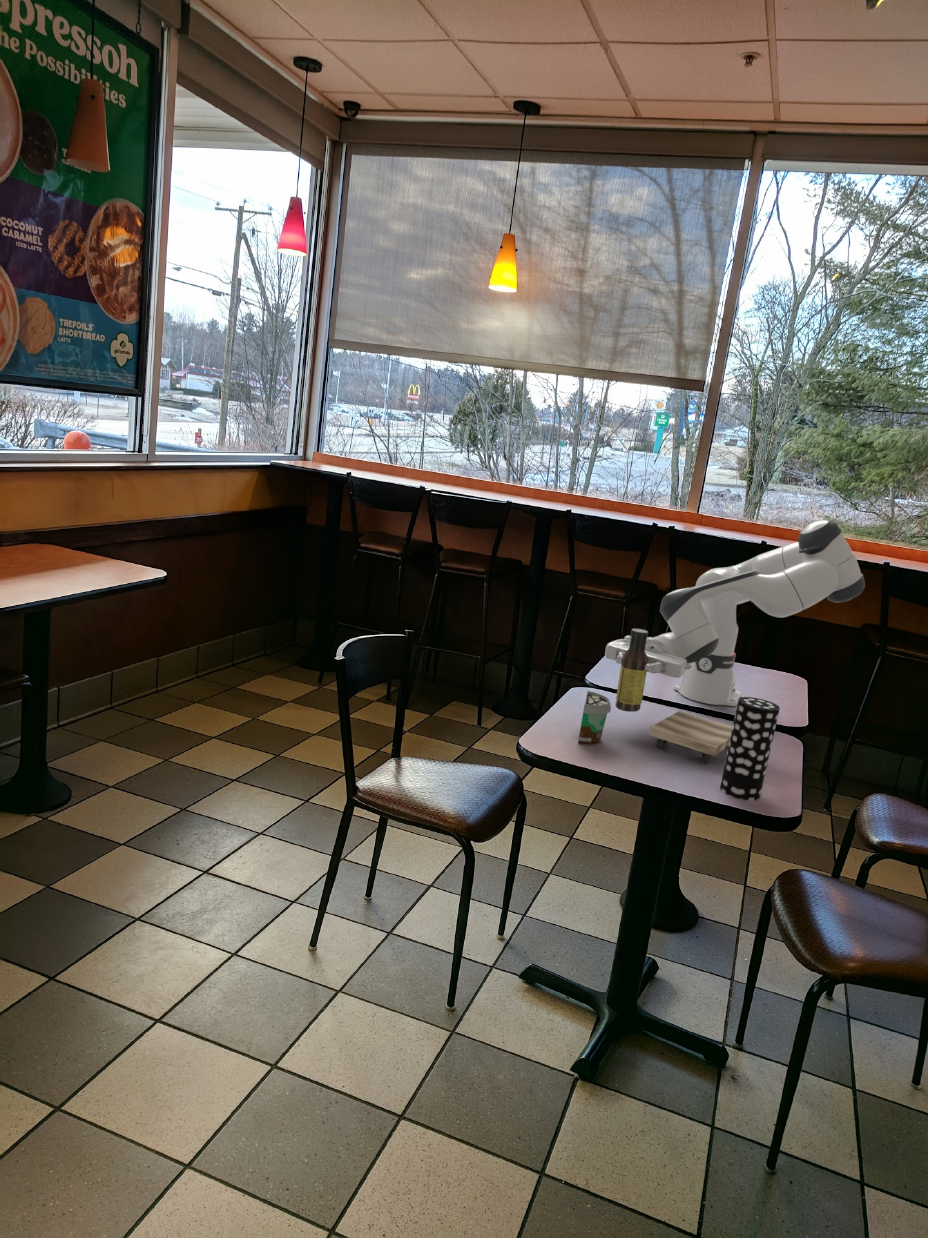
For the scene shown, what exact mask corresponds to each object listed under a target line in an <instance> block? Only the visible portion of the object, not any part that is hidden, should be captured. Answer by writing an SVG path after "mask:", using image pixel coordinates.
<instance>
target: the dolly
mask: <svg viewBox="0 0 928 1238" xmlns="http://www.w3.org/2000/svg"><path fill="white" fill-rule="evenodd" d="M732 728H733V725H730V724H727V723H726V724H725V723H723V722H720V721H715V720H713V719H710V718H706V717H703V716H699V715H695V714H692V713H689V712H685V711H682V710H679V711H677V712H674V713H673V714H671V715H669V716H667V717H666V718H664V719H662V720H661V721H659V722H657V723H655V724H653V725H652V726H650V727H649V733H648V735H649V736H651V737H653V738H656V743H655V744H656V745H655V747H656V748H660V749H661V750H662V749H664V748H665V747H666V745H667V742H670V743H671V744H676V745H680V746H682V747H684V748H685V747H686V748H688V749H692V750H694V751H697V752H701V757H700V761H701V762H702V763H704V764H709V763H710V761H711V758H712V756H714V757H715V756H717V755H718V754H720V753H721V752H722V751H724V750H725V749H728V747H729V742H730V737H731V733H732Z"/></svg>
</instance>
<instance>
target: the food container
mask: <svg viewBox="0 0 928 1238" xmlns="http://www.w3.org/2000/svg"><path fill="white" fill-rule="evenodd" d="M585 698H586V699H585V703H584V704H583V705H584V707H583V711H582V712H583V713H582V717H581V722H580V730H579V735H578V741H577V744H578V743H579V744H578V745H585V746H588V745H589V746H590V745H597V743H598V744H600V742H601V739H602V736H603V732H604V728H605V723H606V719H607V716H608V713H609V714H610V713H611V711H612V709H611V708H612V707H611V704H612V703H611V700H610V698H608V697H606V695H603V694H601V693H598V692H594V691H590V690H587V692H586V697H585Z"/></svg>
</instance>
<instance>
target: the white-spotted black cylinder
mask: <svg viewBox="0 0 928 1238" xmlns="http://www.w3.org/2000/svg"><path fill="white" fill-rule="evenodd" d="M780 708H781V707H780V706H779V705H778V704H776V703H774V702H772V701H769V700H766V699H763V698H758V697H752V696H740V698H739V700H738V703H737V706H736V710H735V715H734V719H733V724H732V726H733V728H732V733H731V737H730V742H729V747H728V748H727V752H726V757H725V762H724V766H723V770H722V771H723V772H722V774H721V775H722V776H721V781H720V784H719V789H720V791H721V792H723V793H724V794H725V795H727V796H729V797H732V798H735V799H739V800H742V801H750V802H751V801H758V800H759V799H760V798H761V794H762V789H763V785H764V781H765V776H766V772H767V767H768V762H769V758H770V754H771V749H772V744H773V741H774V736H775V732H776V726H777V722H778V718H779V714H780V710H781V709H780Z"/></svg>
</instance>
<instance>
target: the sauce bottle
mask: <svg viewBox="0 0 928 1238" xmlns="http://www.w3.org/2000/svg"><path fill="white" fill-rule="evenodd" d="M630 636H631V641H630V645H629V649H628V650H627V651H626V652H625V654H624V655H623V660H622V664H620V665H621V666H620V670H619V671H620V672H619V677H618V684H617V690H616V695H615V696H616V697H615V700H616V701H615V707H616V708H617V709H618V710H620V711H623V712H631V713H632V712H633V713H634V712H638V711H640V710H641V706H642V703H643V697H644V689H645V683H646V678H647V673H648V672H647V671H644V669H645V665H646V664H647V663H648V658H647V655H646V653H645V648H646V647H645V646H646V640H647V637H649V631H648V630H646V629H641V628H632V629H631V630H630Z"/></svg>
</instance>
